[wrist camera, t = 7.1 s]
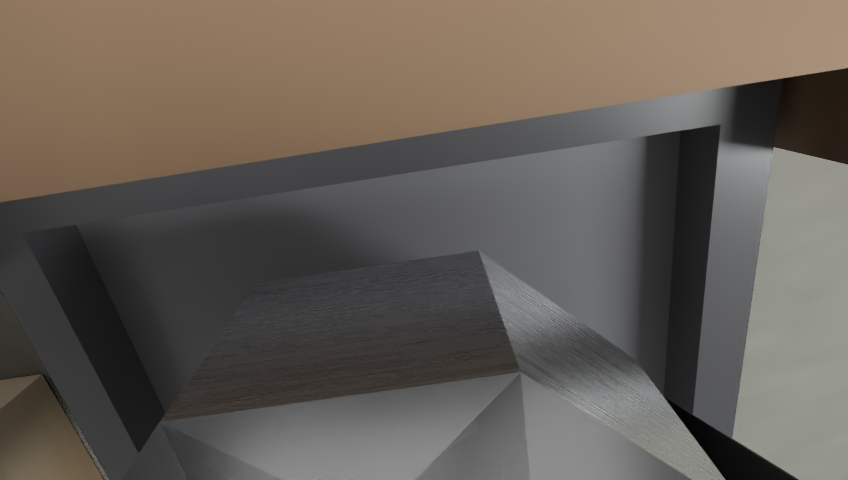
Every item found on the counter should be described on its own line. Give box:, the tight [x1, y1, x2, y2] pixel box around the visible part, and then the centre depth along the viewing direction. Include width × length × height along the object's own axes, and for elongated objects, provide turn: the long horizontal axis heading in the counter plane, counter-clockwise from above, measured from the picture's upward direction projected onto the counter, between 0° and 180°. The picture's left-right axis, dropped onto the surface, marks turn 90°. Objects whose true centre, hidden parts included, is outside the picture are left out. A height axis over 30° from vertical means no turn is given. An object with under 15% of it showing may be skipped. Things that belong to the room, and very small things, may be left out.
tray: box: [0, 78, 783, 480], centre depth 8 cm, size 11×13×4 cm
